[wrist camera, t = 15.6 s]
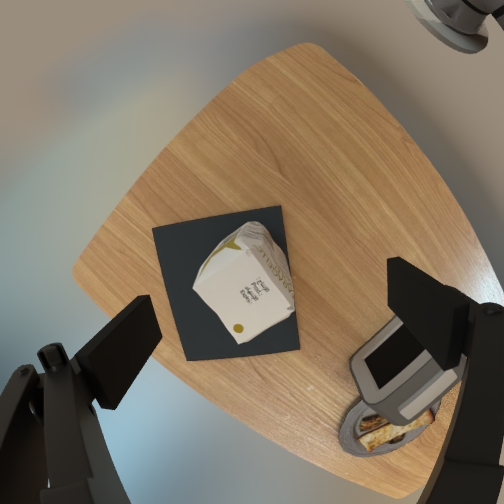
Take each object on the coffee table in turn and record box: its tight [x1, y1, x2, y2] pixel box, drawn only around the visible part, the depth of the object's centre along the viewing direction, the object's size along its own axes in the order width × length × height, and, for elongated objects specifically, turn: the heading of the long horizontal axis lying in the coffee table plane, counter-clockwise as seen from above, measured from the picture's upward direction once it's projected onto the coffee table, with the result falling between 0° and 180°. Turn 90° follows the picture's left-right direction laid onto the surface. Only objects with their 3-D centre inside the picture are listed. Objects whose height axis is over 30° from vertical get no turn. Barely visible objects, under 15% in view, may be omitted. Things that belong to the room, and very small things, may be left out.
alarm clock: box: [349, 315, 467, 426], centre depth 39 cm, size 16×11×16 cm
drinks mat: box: [152, 206, 300, 361], centre depth 45 cm, size 24×20×1 cm
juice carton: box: [193, 221, 295, 344], centre depth 34 cm, size 8×9×19 cm
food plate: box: [339, 398, 442, 458], centre depth 49 cm, size 25×23×4 cm
